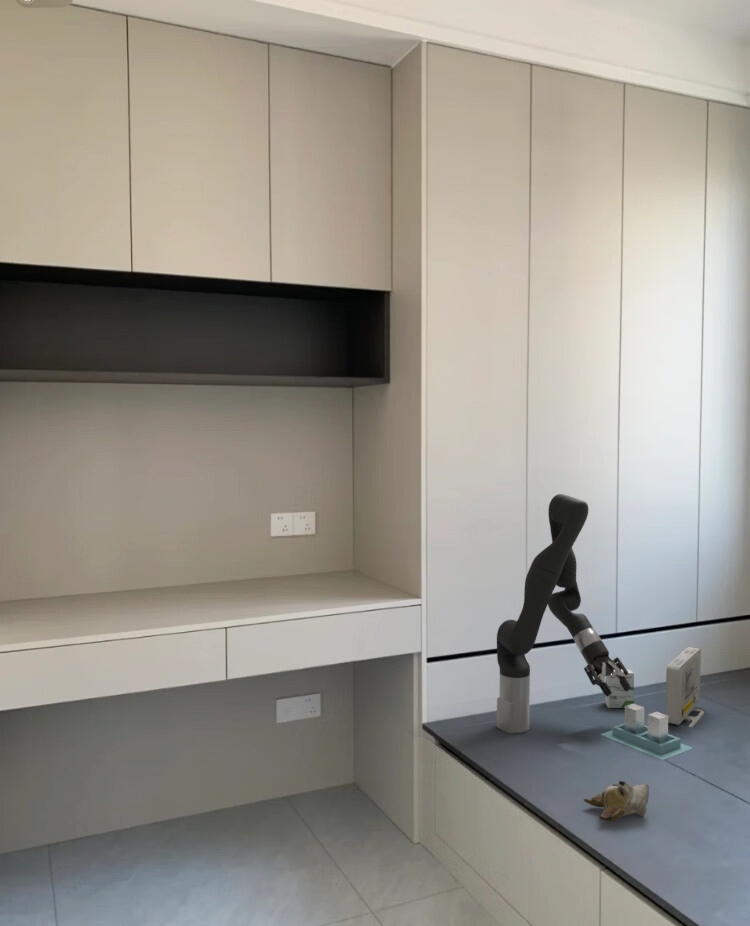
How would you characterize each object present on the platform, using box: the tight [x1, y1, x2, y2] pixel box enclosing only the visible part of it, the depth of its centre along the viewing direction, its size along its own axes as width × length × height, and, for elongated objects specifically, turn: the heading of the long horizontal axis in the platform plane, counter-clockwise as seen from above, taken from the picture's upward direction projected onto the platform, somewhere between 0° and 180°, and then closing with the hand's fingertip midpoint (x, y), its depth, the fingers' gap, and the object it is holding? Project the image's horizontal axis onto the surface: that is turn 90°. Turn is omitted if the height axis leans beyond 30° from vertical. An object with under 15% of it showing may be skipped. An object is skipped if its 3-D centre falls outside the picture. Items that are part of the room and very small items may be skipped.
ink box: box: [604, 668, 635, 709], centre depth 277 cm, size 9×5×12 cm, turn 84°
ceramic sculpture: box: [583, 780, 650, 822], centre depth 204 cm, size 11×9×15 cm
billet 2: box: [647, 711, 669, 744], centre depth 241 cm, size 4×4×9 cm
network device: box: [665, 646, 705, 728], centre depth 266 cm, size 26×9×20 cm, turn 145°
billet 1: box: [623, 703, 645, 735], centre depth 248 cm, size 4×4×9 cm
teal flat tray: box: [600, 722, 694, 761], centre depth 245 cm, size 14×22×4 cm, turn 35°
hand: (619, 692), depth 252 cm, fingers open, 8 cm apart
